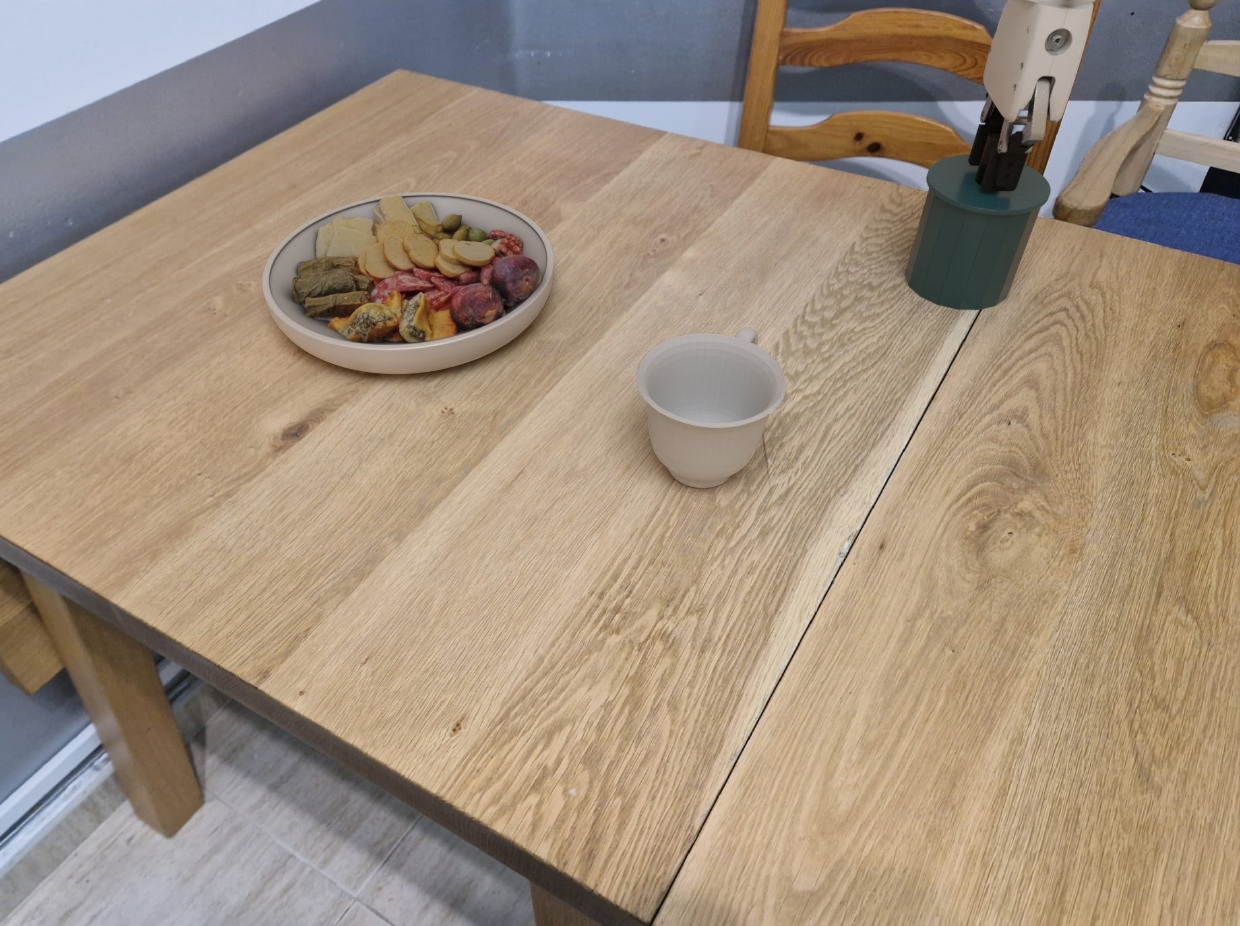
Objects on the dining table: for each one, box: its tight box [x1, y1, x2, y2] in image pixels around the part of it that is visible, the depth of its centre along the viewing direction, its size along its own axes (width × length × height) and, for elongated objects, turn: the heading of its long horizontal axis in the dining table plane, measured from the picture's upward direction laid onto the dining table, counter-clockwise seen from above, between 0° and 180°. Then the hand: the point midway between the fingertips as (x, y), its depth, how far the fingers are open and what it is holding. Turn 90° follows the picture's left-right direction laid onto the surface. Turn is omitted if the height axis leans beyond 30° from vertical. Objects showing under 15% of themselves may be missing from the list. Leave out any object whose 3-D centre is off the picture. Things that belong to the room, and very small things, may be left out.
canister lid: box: [925, 131, 1052, 215], centre depth 91 cm, size 12×12×6 cm
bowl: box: [261, 191, 555, 375], centre depth 98 cm, size 30×30×8 cm
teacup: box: [635, 326, 787, 489], centre depth 80 cm, size 12×15×10 cm
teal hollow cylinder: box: [904, 187, 1042, 311], centre depth 97 cm, size 11×11×12 cm
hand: (991, 175), depth 92 cm, fingers open, 4 cm apart
